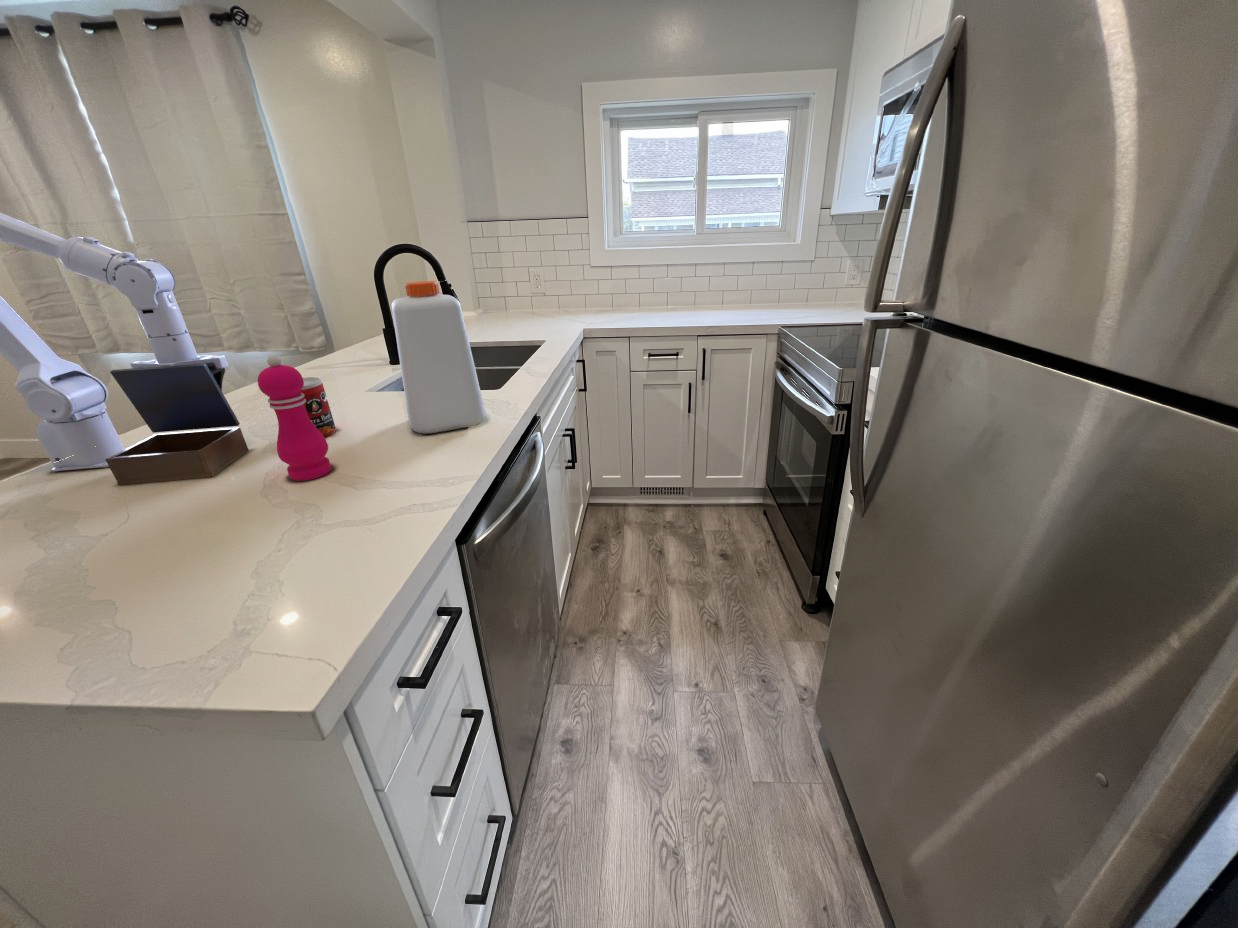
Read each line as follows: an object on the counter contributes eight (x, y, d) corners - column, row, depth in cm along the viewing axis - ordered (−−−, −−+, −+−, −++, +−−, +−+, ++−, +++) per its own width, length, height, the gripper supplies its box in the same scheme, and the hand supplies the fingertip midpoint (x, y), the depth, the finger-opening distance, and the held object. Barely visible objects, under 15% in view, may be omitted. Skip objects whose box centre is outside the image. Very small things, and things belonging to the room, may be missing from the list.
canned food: (304, 444, 97) (286, 390, 92) (287, 436, 101) (269, 384, 97) (344, 432, 102) (328, 380, 98) (326, 425, 107) (310, 375, 102)
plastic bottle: (408, 416, 110) (377, 282, 98) (477, 405, 115) (456, 277, 104) (413, 438, 97) (379, 288, 86) (490, 425, 103) (468, 281, 91)
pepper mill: (313, 483, 81) (272, 361, 72) (276, 481, 82) (231, 361, 74) (344, 465, 87) (310, 350, 79) (309, 463, 88) (271, 350, 80)
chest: (212, 476, 85) (201, 451, 83) (118, 485, 83) (105, 459, 81) (249, 450, 95) (240, 427, 93) (165, 457, 93) (154, 433, 91)
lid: (203, 365, 85) (216, 353, 88) (109, 371, 83) (126, 359, 87) (238, 426, 93) (249, 413, 96) (152, 432, 91) (166, 419, 94)
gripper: (104, 341, 83) (140, 418, 88) (198, 335, 84) (228, 411, 90) (135, 334, 89) (167, 406, 95) (222, 329, 91) (248, 400, 96)
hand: (198, 408), depth 93 cm, fingers open, 6 cm apart
